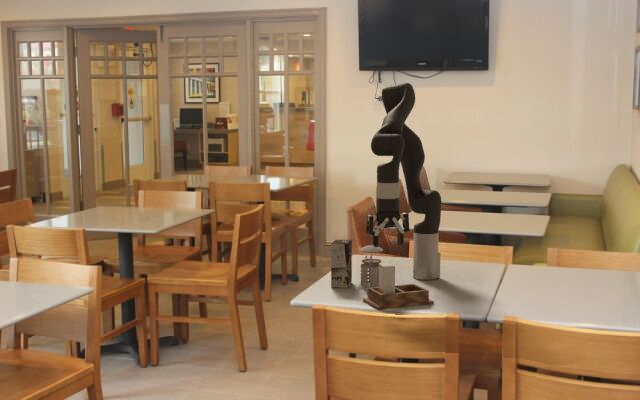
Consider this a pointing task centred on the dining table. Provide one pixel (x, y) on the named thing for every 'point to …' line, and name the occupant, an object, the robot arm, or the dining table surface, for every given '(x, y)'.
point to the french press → (370, 268)
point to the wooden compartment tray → (398, 297)
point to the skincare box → (386, 278)
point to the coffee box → (341, 263)
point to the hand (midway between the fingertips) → (387, 245)
